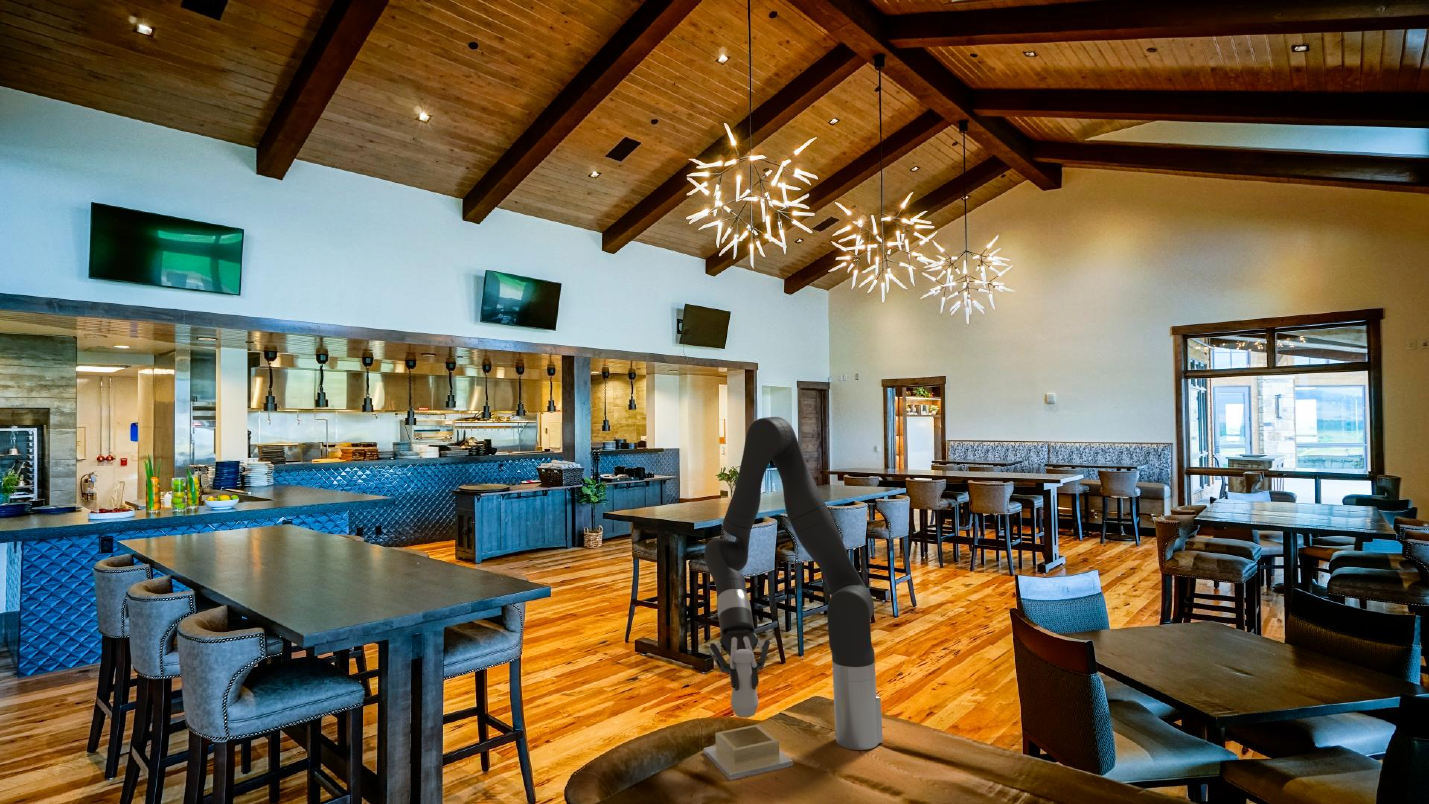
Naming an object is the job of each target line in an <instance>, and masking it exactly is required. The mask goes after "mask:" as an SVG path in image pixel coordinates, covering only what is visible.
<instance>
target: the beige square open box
mask: <svg viewBox="0 0 1429 804" xmlns="http://www.w3.org/2000/svg"><path fill="white" fill-rule="evenodd" d="M714 735H715V745H712V746H707V747H704V748H703V753H704V752H705V753H704V754H706V755H707V756H706V755H705V756H706V757H707V758H708V759H709V760H710V761H711V762H712V763H713V764H714V765H715V766H716V767H717V769H718V770H719V771H720V772H722V774H723V775H724V776H725V777H726V779H728V780H729V781H734V780H737V779H742V778H745V777H746V776H747V777H751V776H755V775H760V774H764V773H767V772H772V771H777V770H782V769H786V768H790V767H789V766H791V767H794V760H792V759H791V758H790V757H789V756H788V755H787V754H785V753H784V752H783V751H782V750H781V749H780V740H778V739H777V738H775V737H774V735H772V734H770V733H769V732H768V731H767V730H766V729H764V728H763V727H761V726H760V725H759V724H753V725H747V726H743V727H738V728H737V727H736V728H733V729H728V730H723V731H718V732H715V734H714ZM750 775H751V776H750Z"/></svg>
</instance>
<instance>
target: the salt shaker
mask: <svg viewBox="0 0 1429 804" xmlns="http://www.w3.org/2000/svg"><path fill="white" fill-rule="evenodd" d="M753 653H754V651H753V652H752V651H751V650H748V649H740V650H736V651H735V652H734V654H733V660H734V662H735V663H736V668H735V670H736V669H737V673H738V680H739V690H737V691H735V688H732V691H731V698H730V706H731V708H732V710H733V713H734V715H736V716H737V717H738V718H746V719H747V718H750V717H753V716H755V715H756V712H757V709H758V706H759V697H758V693H757V692H758V691H757V688H756V689H752V669H751V664H750V663H752V662H753V660H754V658H755V654H754V655H753Z"/></svg>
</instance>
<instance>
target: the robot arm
mask: <svg viewBox="0 0 1429 804" xmlns="http://www.w3.org/2000/svg"><path fill="white" fill-rule="evenodd" d="M771 461H772V463H773V465H774V466H775V469H776V470H777V472H778V475H779V477H780V482H781V484H782V493H783V502H784V508H785V512H786V516H787V518H788V521H789V523H790V526H791V527H792V529H793V531H794V534H795V535H796V538H797V539H798V541H799V543H800V545H801V546H802V548H803V549H804V550H805V552H806V553H807V554H808V556H810V558H811V559H812V560H813V562H814V563H815V564H816V565H817V567H818V568H819V569H820V571H821V573H822V576H823V577H824V579H825V582H826V585H827V587H828V589H829V592H830V595H831V597H830V598H829V600H828V603H827V611H826V612H827V613H826V616H827V617H826V618H827V620H826V621H827V632H828V646H829V649H830V653H831V663H832V683H833V685H832V687H833V707H834V708H833V709H834V710H833V711H834V728H835V730H834V731H835V742H836V744H837V745H839V746H840V747H843V748H845V749H848V750H854V751H855V750H856V751H863V750H864V751H865V750H870V749H873V748H876V747H877V746H879V744H881V743H883V742H884V741H883V739H884V738H883V737H884V736H883V721H882V720H883V718H882V703H881V701H882V699H881V697H880V696H879V695H877V679H876V678H877V676H876V663H875V662H876V659H875V655H876V654H875V649H874V647H873V643H872V629H871V619H872V616H873V614H874V611H875V603H874V598H873V595H872V594H871V592H870V591H869V589H868V587H867V586H866V583H864V581H863V579H862V577H861V576H860V574H859V572H858V570H857V569H856V567H855V565H854V564H853V562H852V561H851V558H850V556H849V554H848V551H847V549H846V546H845V544H844V541H843V539H842V536H841V535H840V532H839V530H838V527H837V525H836V523H835V520H834V518H833V517H832V514H831V512H830V509H829V507H828V506H827V503H826V502H825V499H824V498H823V496H822V493H821V492H820V489H819V488H818V486H817V483H816V481H815V479H814V477H813V475H812V473H811V471H810V470H809V468H808V465H807V463H806V460H805V457H804V455H803V452H802V450H801V446H800V444H799V441H798V438H797V435H796V433H795V430H794V428H793V426H792V425H791V424H790V422H789V421H788V420H787V419H785V418H784V417H780V416H770V417H767V416H766V417H761V418H758V419H756V420H754V421H753V422H752V423H751V424H750V426H749V427H748V429H747V432H746V437H745V442H744V446H743V452H742V458H741V462H740V467H739V471H738V476H737V480H736V484H735V487H734V491H733V493H732V496H731V499H730V502H729V504H728V507H727V510H726V512H725V516H724V518H723V522H722V529H723V531H725V532H726V533H727V534H728V535H730V536H732V537H734V538H735V540H734V541H733V540H728V539H723V538H712V539H710V540H709V541H708V542H707V543H706V546H705V549H704V552H703V553H704V561H705V564H706V567H707V569H708V572H709V574H710V575H711V578H712V580H713V583H714V585H715V590H716V597H717V618H718V623H719V624H718V625H719V631H720V639H719V641H718V642H717V643H715V642H712V643H710V645H709V651H708V652H709V654H710V655H711V657H712V659H713V661H714V662H715V663H716V666H717V667H718V669H719V671H720V672H721V673H728V674H729V679H730V687H731V688H732V689H733V688H735V691H737V690H739V680H738V673H737V669H736V670H735V668H736V663H735V662H734V660H733V654H734V652H735V651H736V650H740V649H748V650H751V651H752V652H753V655H754V656H755V654H754V651H755V649H756V648H757V646H758V650H759V651H760V657H759V660H757V661H756V657H754V660H753V662H752V663H750V664H751V669H752V689H756V690H757V687H758V685H759V680H760V679H759V674H758V671H762V670H763V669H764V668H765V664H766V661H767V657H768V652H769V649H770V644H771V640H769V639H765V640H762V639H759V636H758V635H757V634H756V631H755V627H754V620H753V614H752V607H751V603H750V598H749V596H748V591H747V583H746V579H745V576H744V574H743V573H741V570H743V569H744V568H745V566H747V564H748V560H749V550H750V549H749V548H750V546H749V545H750V539H751V538H750V537H751V533H752V529H753V527H754V526H753V525H754V523H755V520H756V518H757V515H758V512H759V509H760V505H761V500H762V499H761V497H762V484H763V480H764V477H765V474H766V471H767V468H768V467H769V464H770V462H771ZM722 650H723V651H724V652H725V653H726V654H727V655H728V657H729V662H728V663H727V660H725V658H724V656H723V655H722Z"/></svg>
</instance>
